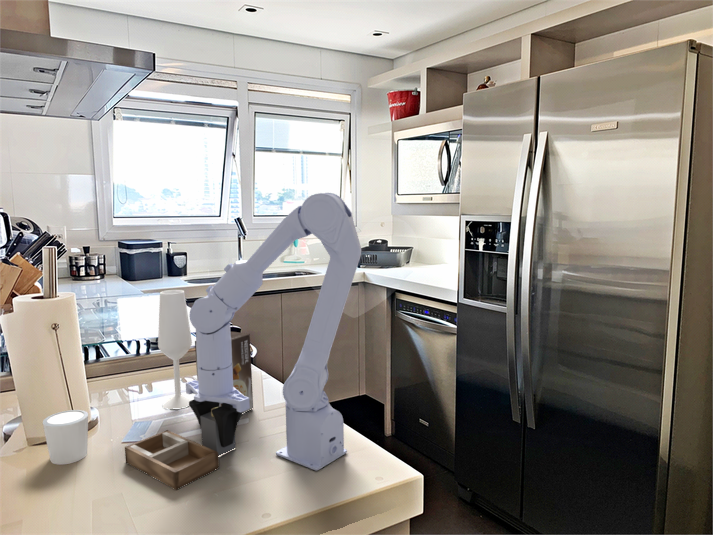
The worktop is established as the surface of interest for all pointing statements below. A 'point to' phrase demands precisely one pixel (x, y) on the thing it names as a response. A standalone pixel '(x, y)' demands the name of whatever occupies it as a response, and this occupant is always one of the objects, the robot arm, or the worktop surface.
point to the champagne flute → (174, 338)
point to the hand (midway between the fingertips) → (218, 441)
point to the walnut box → (172, 458)
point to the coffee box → (240, 365)
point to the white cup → (67, 436)
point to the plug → (212, 434)
